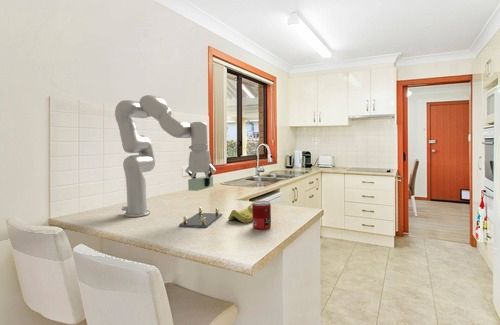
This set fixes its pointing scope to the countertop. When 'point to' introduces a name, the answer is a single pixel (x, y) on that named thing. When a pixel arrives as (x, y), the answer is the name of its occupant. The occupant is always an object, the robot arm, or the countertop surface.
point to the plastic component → (243, 214)
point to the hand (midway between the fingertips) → (201, 185)
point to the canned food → (261, 215)
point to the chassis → (200, 219)
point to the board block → (199, 183)
